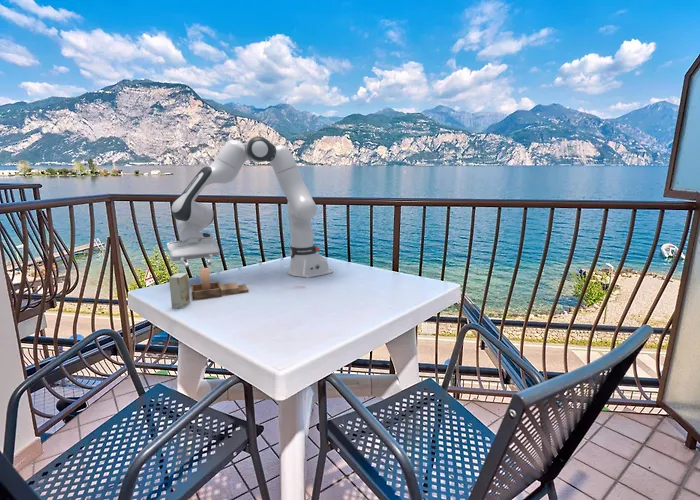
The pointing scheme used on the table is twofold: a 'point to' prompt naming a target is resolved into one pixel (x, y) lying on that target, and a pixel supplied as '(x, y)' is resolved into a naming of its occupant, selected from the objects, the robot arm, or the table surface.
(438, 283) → the table surface
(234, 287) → the wooden desk organizer
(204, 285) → the wooden block
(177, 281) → the skincare box
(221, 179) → the robot arm
